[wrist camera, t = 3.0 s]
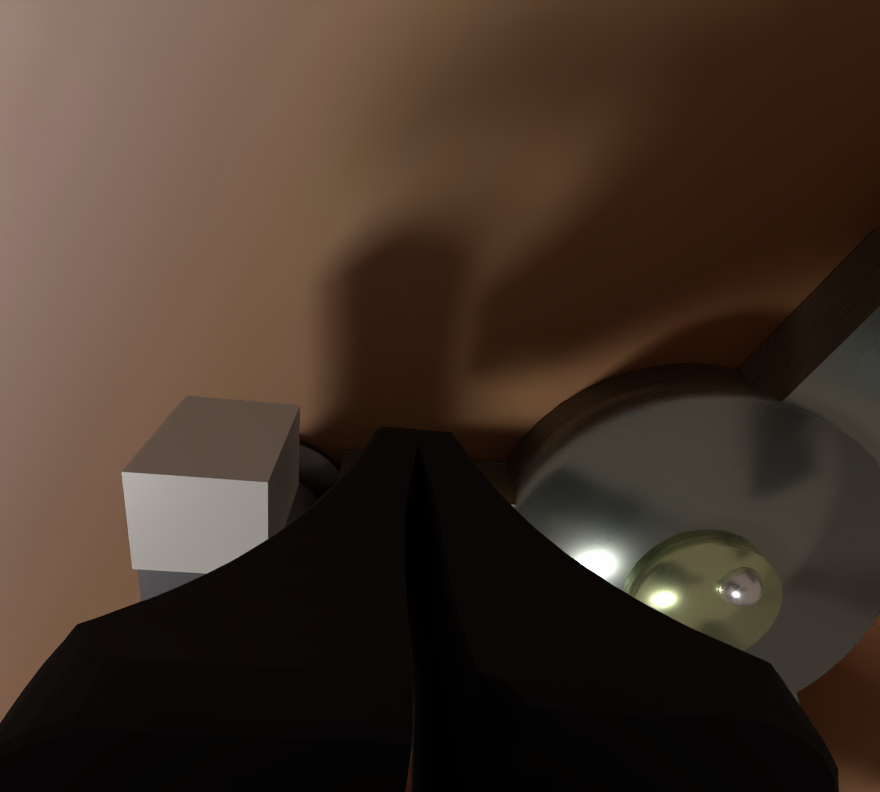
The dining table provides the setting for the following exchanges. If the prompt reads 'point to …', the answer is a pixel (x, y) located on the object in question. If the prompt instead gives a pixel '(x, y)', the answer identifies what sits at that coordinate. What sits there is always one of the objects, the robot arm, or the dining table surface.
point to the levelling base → (724, 482)
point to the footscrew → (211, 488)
